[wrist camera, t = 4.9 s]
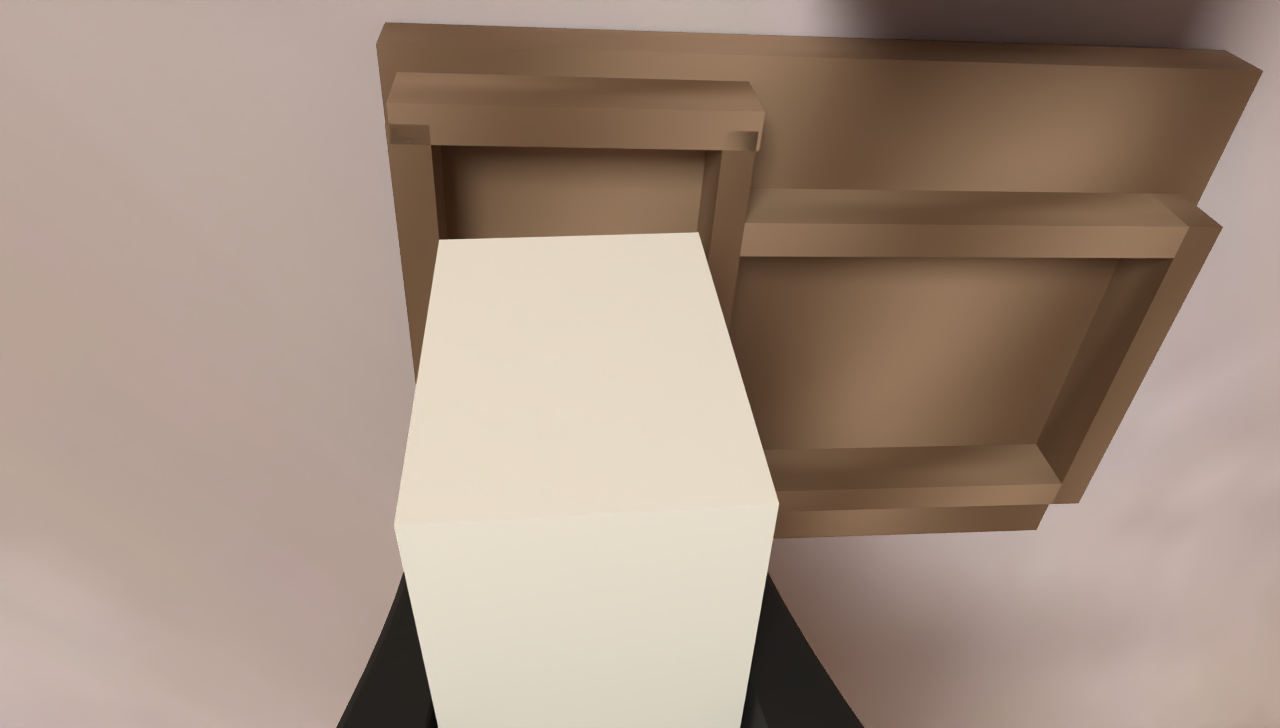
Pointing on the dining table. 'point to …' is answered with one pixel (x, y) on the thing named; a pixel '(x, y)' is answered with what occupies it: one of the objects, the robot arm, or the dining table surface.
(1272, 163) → the dining table surface
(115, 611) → the dining table surface
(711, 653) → the cream rectangular block
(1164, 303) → the jig
